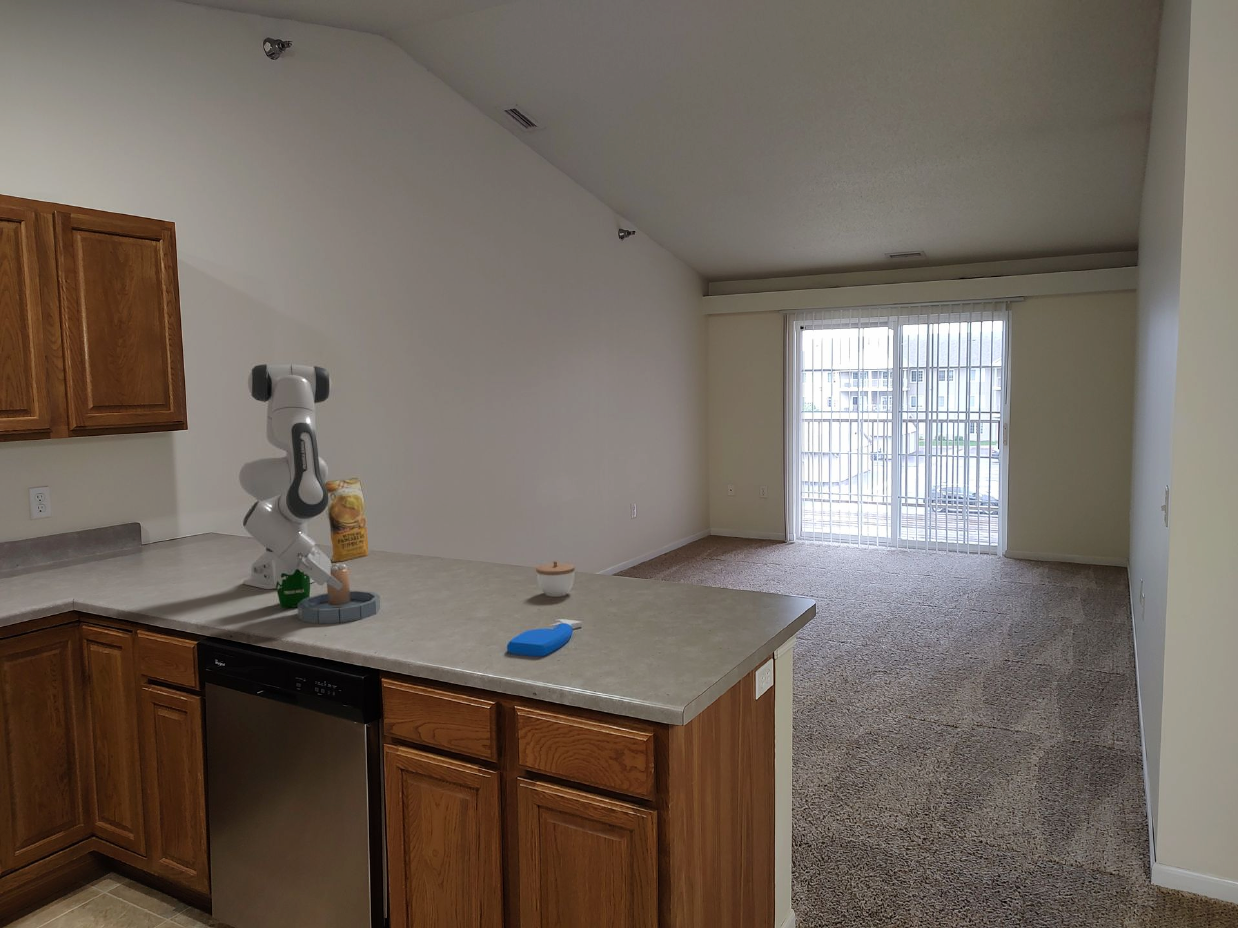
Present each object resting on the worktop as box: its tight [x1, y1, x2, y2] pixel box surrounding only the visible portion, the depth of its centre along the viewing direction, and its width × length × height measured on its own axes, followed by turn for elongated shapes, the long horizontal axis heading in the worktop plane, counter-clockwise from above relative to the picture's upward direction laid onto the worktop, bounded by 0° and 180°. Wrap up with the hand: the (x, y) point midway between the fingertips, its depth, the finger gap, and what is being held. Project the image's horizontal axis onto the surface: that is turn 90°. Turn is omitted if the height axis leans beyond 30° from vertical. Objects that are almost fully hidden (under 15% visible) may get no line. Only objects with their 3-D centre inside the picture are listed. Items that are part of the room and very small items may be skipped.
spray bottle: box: [506, 618, 583, 658], centre depth 193 cm, size 3×11×24 cm
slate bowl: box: [297, 590, 381, 625], centre depth 222 cm, size 20×20×4 cm
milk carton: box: [274, 553, 311, 610], centre depth 231 cm, size 9×9×20 cm
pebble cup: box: [326, 563, 351, 606], centre depth 221 cm, size 6×6×10 cm
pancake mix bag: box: [325, 477, 370, 563], centre depth 295 cm, size 7×19×28 cm, turn 149°
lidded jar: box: [535, 560, 576, 598], centre depth 236 cm, size 11×11×9 cm
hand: (340, 584), depth 222 cm, fingers closed on pebble cup, 6 cm apart
